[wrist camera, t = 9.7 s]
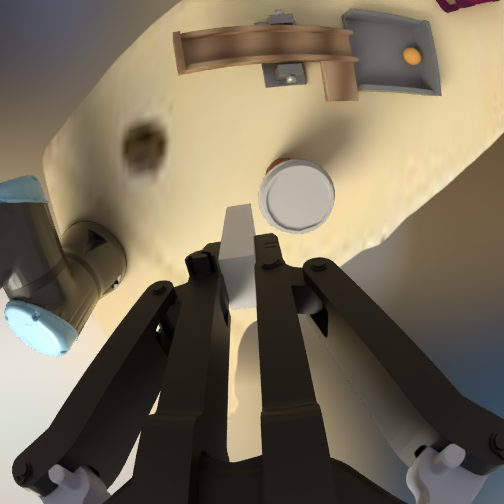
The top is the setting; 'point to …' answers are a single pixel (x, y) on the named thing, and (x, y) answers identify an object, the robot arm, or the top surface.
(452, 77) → the top surface
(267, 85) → the fulcrum
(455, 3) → the book
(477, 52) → the top surface
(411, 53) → the ball
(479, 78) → the top surface
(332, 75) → the lever
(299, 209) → the disposable coffee cup
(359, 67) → the tray
